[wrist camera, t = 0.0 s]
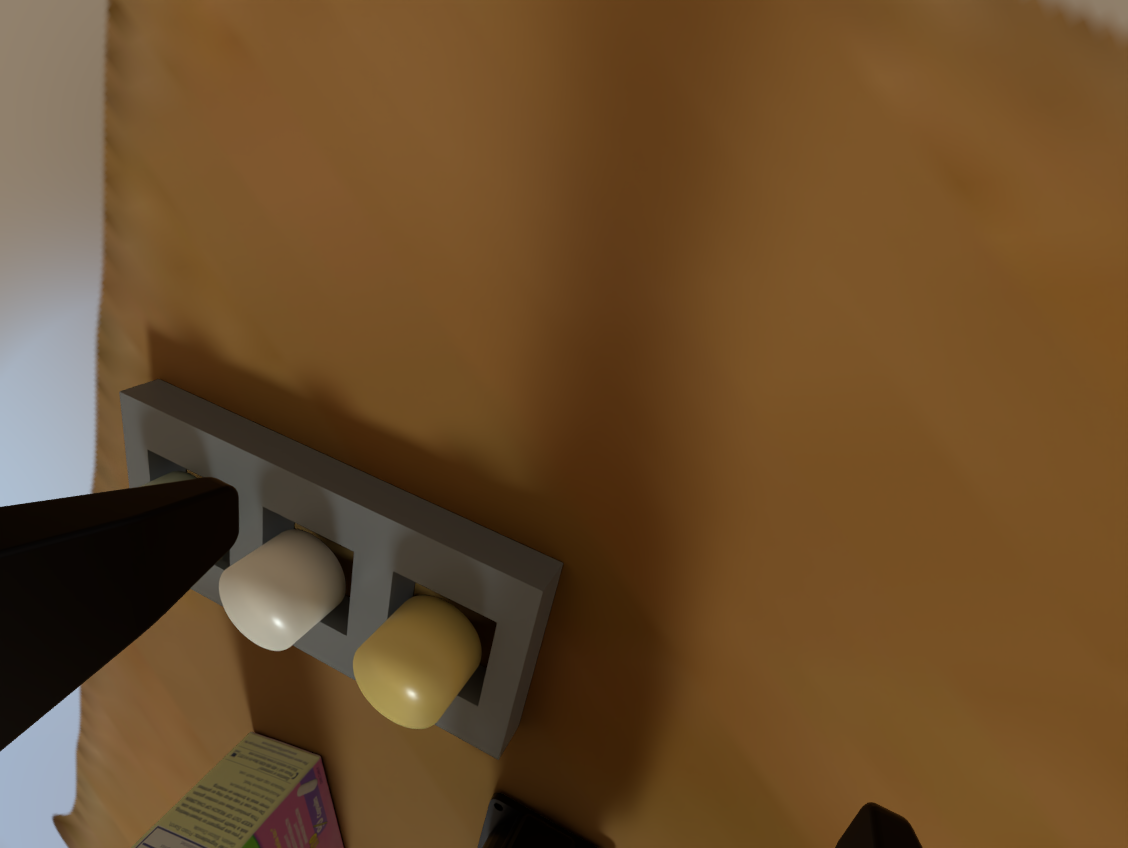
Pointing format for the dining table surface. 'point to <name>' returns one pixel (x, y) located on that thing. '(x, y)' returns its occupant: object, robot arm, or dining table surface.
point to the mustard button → (418, 661)
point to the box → (253, 803)
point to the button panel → (357, 545)
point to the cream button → (282, 589)
